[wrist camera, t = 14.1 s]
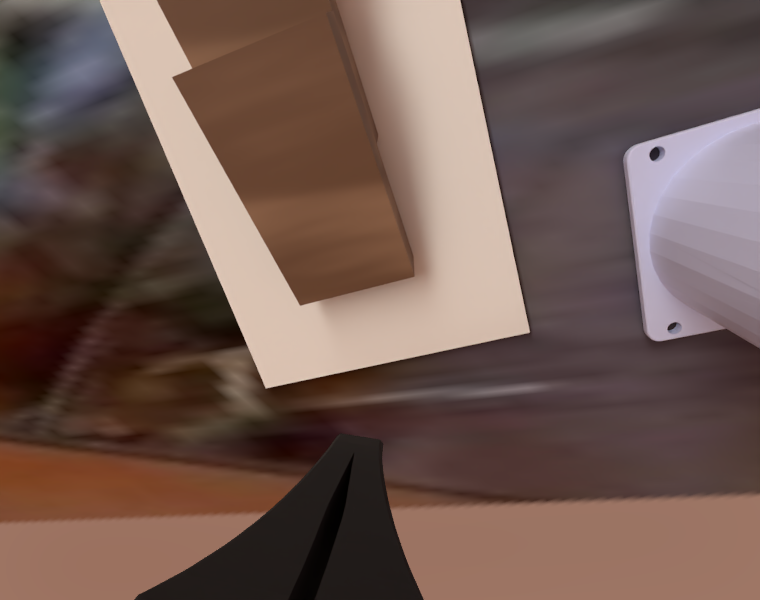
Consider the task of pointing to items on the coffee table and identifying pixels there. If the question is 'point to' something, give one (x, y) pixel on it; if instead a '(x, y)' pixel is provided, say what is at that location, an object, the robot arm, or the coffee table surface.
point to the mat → (407, 180)
